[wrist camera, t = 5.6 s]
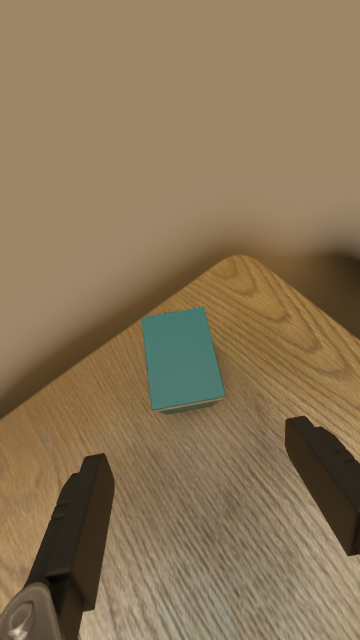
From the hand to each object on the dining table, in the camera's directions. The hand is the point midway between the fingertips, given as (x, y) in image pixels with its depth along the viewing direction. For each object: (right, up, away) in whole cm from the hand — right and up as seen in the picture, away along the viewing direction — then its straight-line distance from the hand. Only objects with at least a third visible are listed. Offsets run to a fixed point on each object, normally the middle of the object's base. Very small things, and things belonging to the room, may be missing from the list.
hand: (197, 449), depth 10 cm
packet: (-1, 0, +10) cm, 10 cm away
